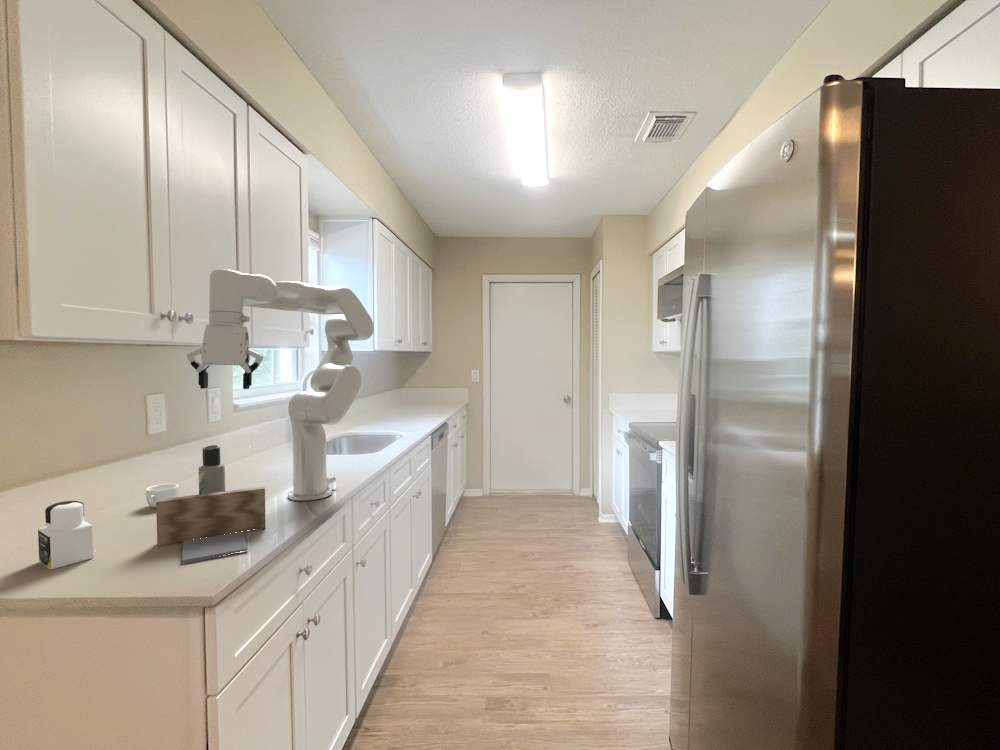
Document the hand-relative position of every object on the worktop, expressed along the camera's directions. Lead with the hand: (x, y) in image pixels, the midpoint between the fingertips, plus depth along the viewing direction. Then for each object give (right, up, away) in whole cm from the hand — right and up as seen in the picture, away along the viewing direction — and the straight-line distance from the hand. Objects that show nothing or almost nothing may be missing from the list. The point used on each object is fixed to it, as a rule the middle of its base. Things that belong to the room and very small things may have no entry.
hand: (225, 388), depth 125 cm
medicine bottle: (-21, -35, -21) cm, 46 cm away
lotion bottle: (-3, -35, 0) cm, 35 cm away
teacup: (-26, -34, +15) cm, 45 cm away
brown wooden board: (+1, -35, -7) cm, 35 cm away
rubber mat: (+6, -35, -15) cm, 38 cm away
